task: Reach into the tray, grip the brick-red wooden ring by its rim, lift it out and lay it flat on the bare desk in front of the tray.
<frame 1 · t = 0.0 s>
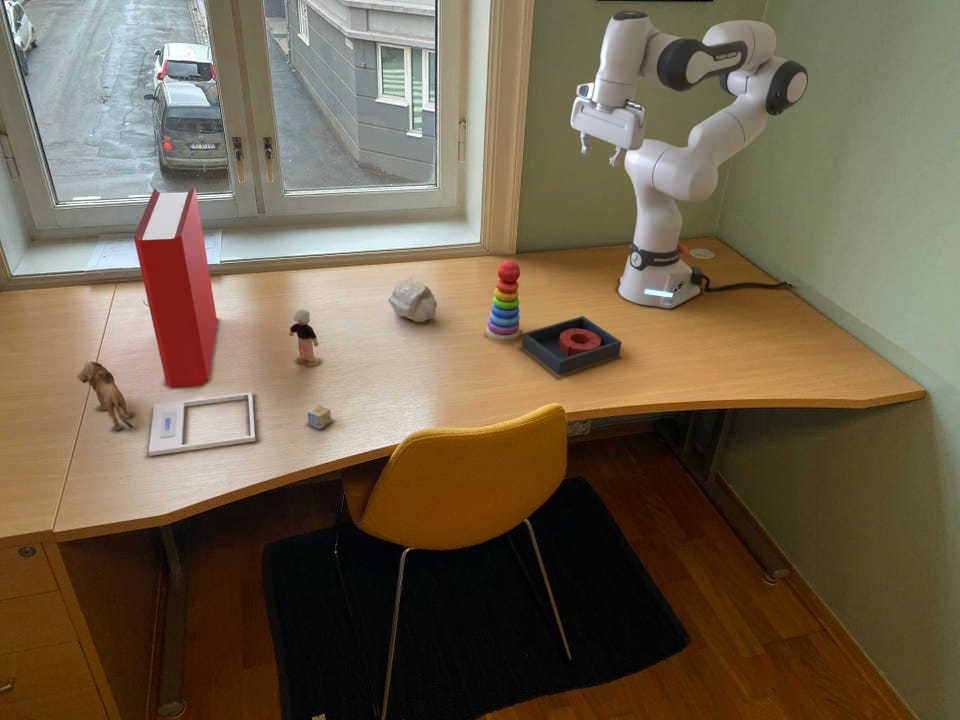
hand: (599, 159, 161), 39 cm above the table, tool pointing down, fingers open, 8 cm apart
tray: (569, 353, 165), on the table
stacking toy: (502, 335, 171), on the table
photo frame: (204, 425, 137), on the table
book: (193, 352, 158), on the table
grandmother figurine: (306, 361, 157), on the table
ring: (579, 347, 166), point 1 cm above the table, touching tray
alphabet block: (320, 424, 139), on the table
lion figurine: (111, 413, 139), on the table
white rock: (413, 316, 177), on the table
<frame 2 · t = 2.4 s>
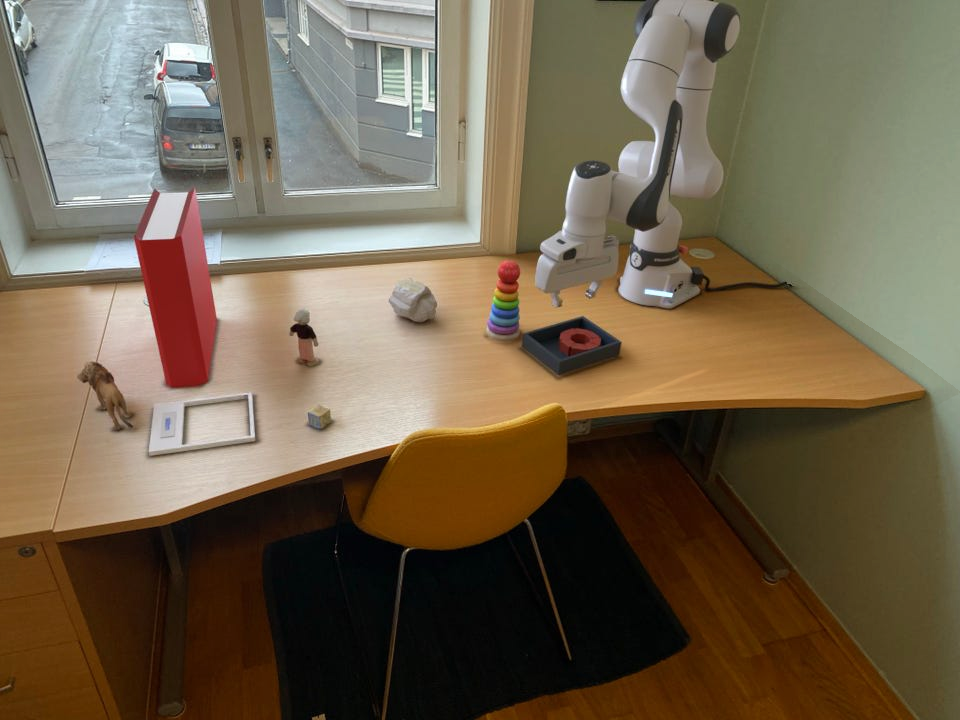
hand: (573, 301, 157), 14 cm above the table, tool pointing down, fingers open, 8 cm apart
nothing on the table moved.
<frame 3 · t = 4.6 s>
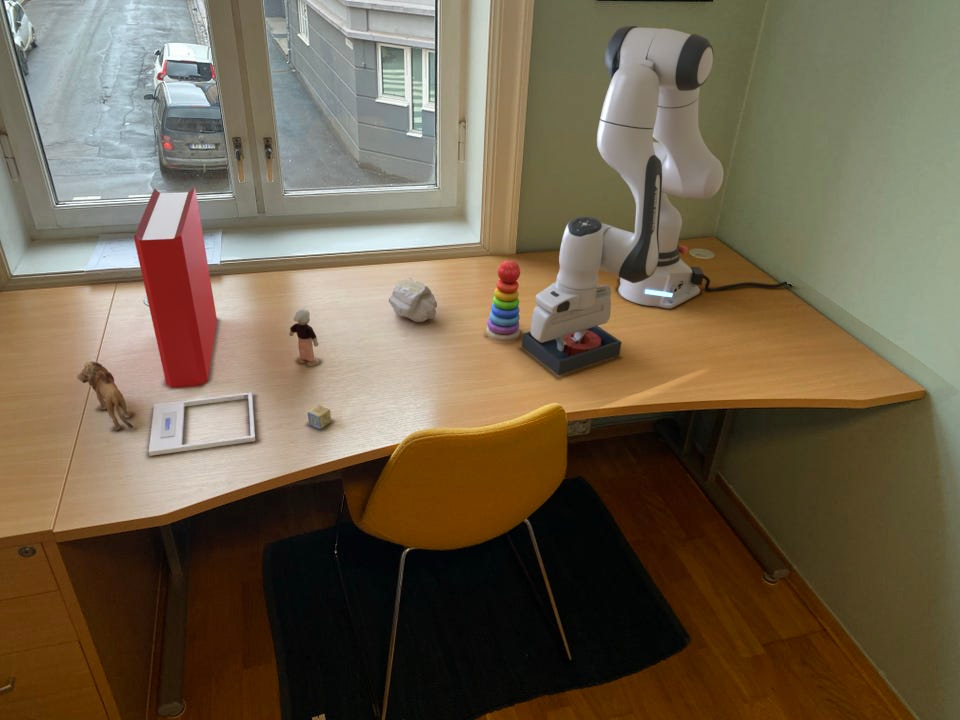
hand: (568, 347, 164), 2 cm above the table, tool pointing down, fingers closed on ring, 2 cm apart
ring: (579, 347, 166), point 1 cm above the table, touching tray, gripper
everything else where it was.
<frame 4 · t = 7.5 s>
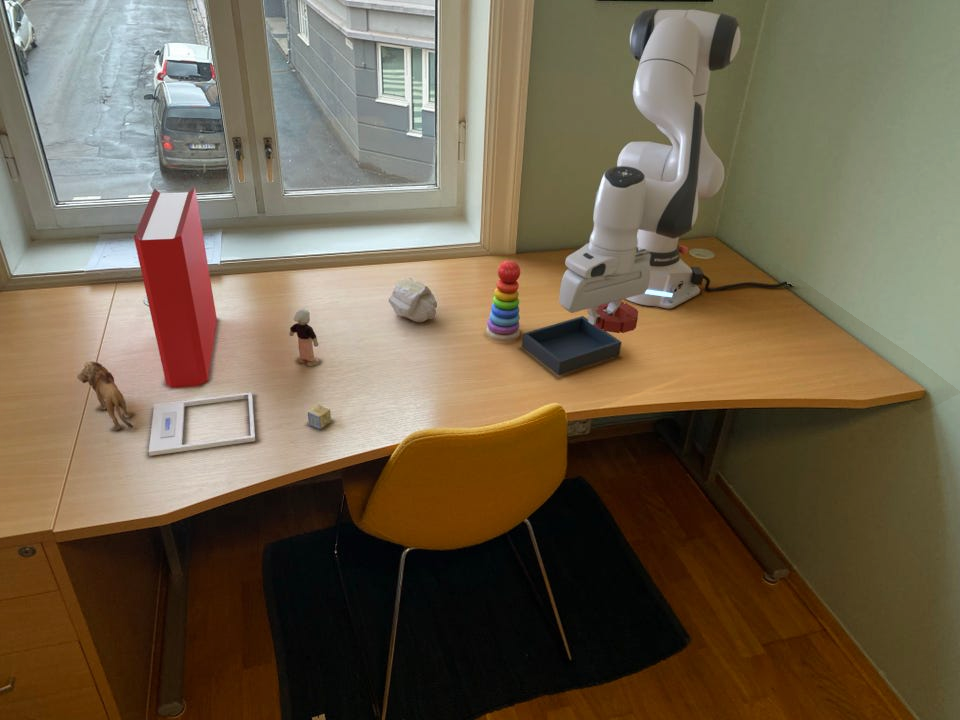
hand: (600, 320, 144), 17 cm above the table, tool pointing down, fingers closed on ring, 2 cm apart
ring: (612, 321, 146), point 16 cm above the table, touching gripper
everything else where it was.
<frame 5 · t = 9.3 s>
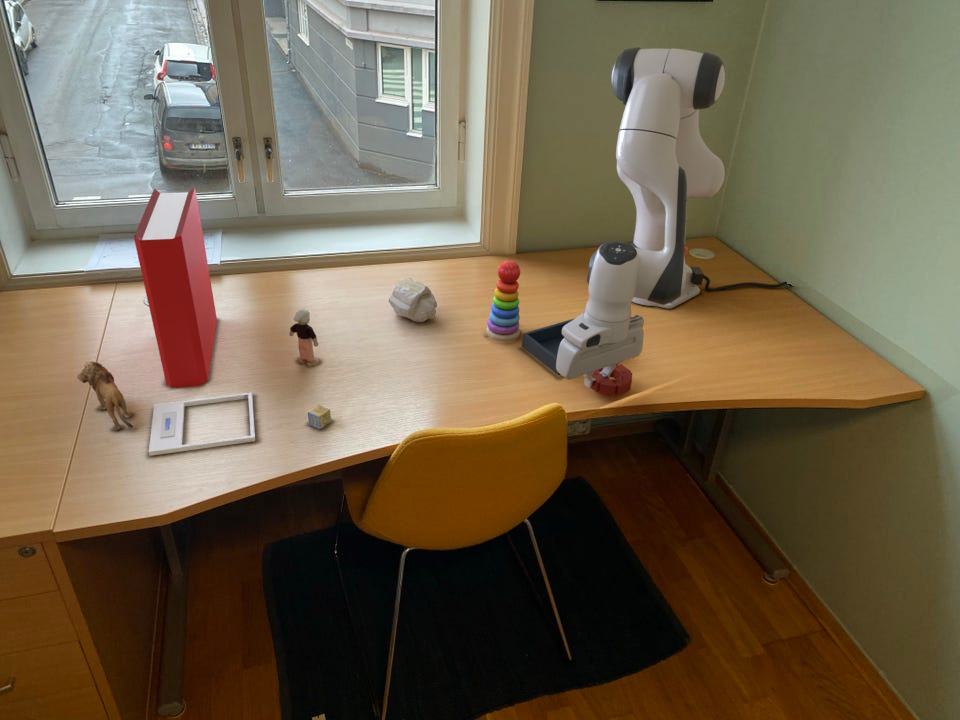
hand: (596, 383, 149), 4 cm above the table, tool pointing down, fingers closed on ring, 2 cm apart
ring: (608, 382, 151), point 3 cm above the table, touching gripper
everything else where it was.
when the fingers open (1 cm above the table, at t = 10.3 s): ring stays where it is, on the table.
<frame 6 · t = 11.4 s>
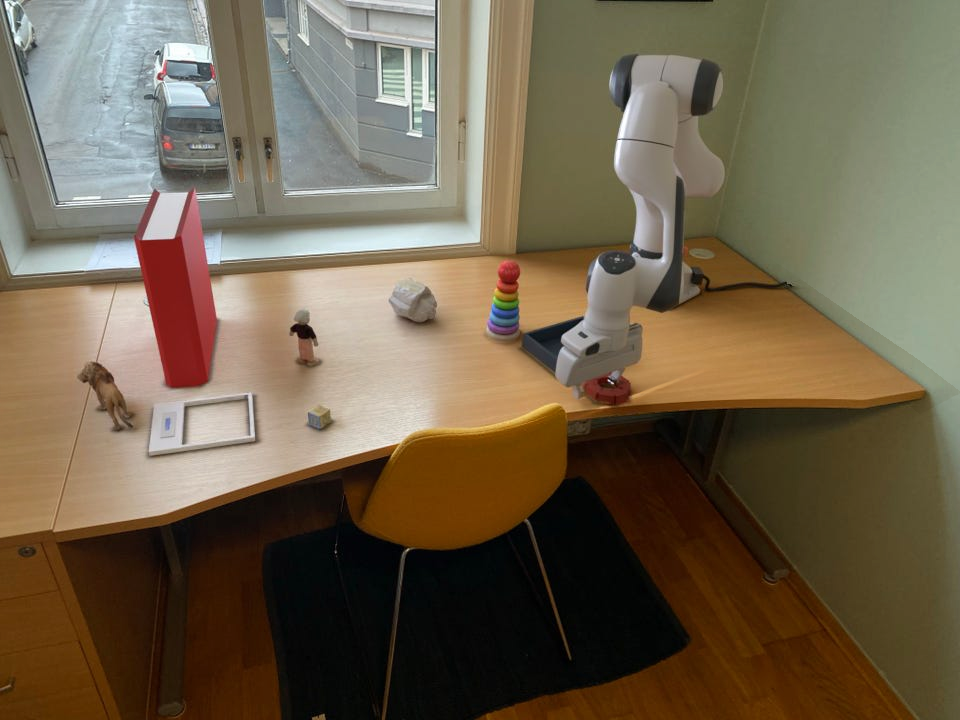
hand: (595, 390, 150), 2 cm above the table, tool pointing down, fingers open, 8 cm apart
ring: (606, 392, 153), on the table, touching gripper
everything else where it was.
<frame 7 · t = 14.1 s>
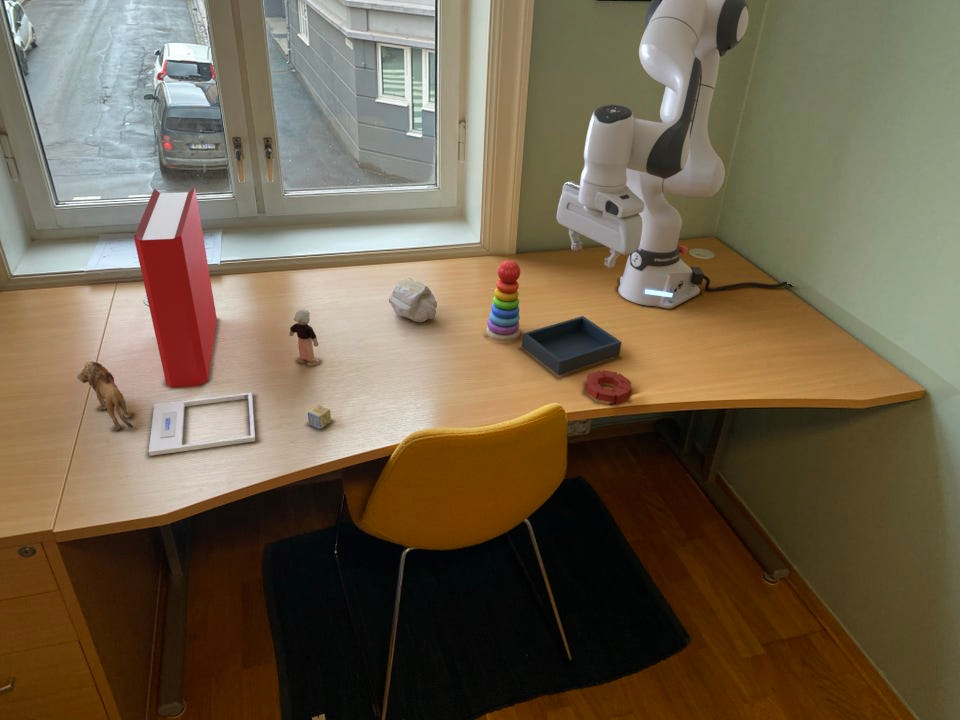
hand: (592, 258, 150), 25 cm above the table, tool pointing down, fingers open, 8 cm apart
ring: (606, 392, 153), on the table
everything else where it was.
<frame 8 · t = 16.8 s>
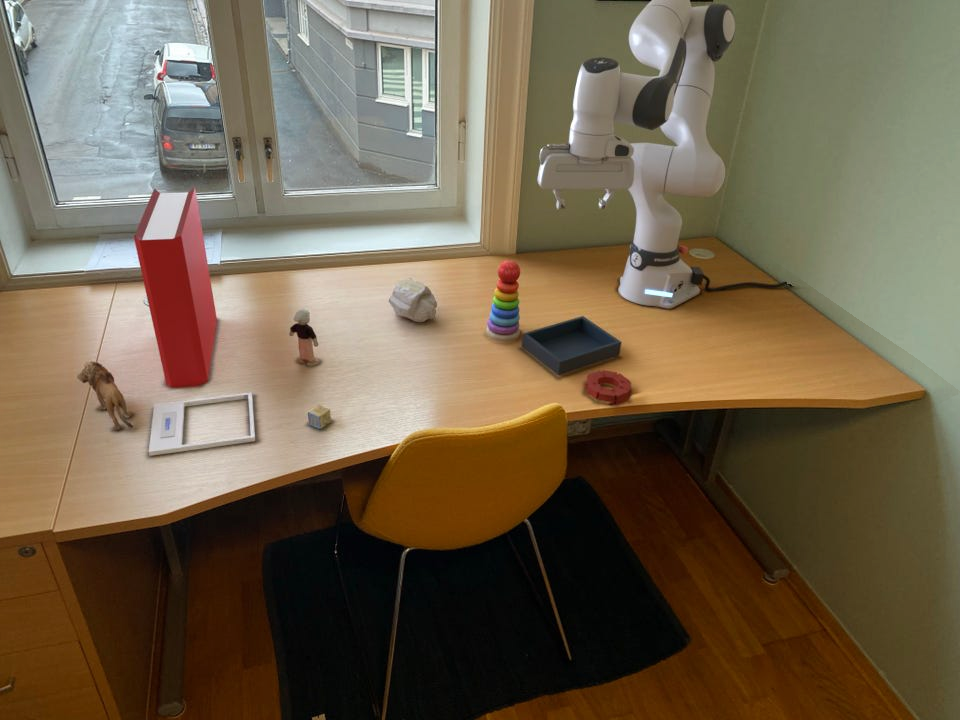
hand: (581, 208, 157), 31 cm above the table, tool pointing down, fingers open, 8 cm apart
nothing on the table moved.
at the end: ring inside the target area (0.2 cm from its centre), on the table; ring tilted 0°; the gripper is holding nothing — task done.
